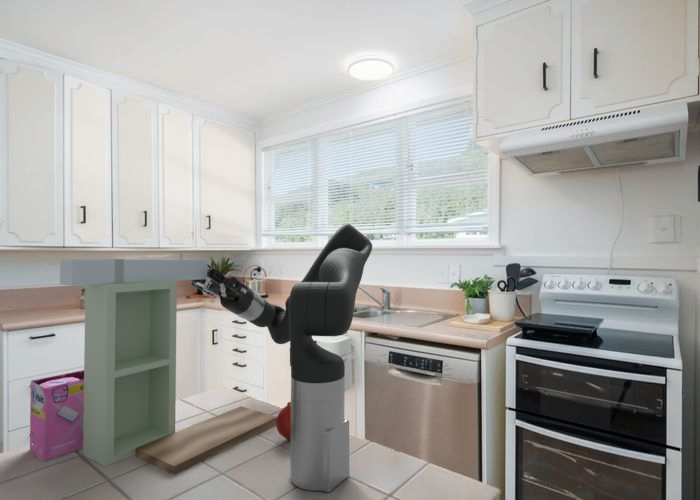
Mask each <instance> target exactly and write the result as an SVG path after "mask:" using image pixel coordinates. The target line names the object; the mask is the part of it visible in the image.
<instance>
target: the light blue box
mask: <svg viewBox="0 0 700 500" xmlns="http://www.w3.org/2000/svg"><path fill="white" fill-rule="evenodd" d="M59 267H60V268H59V269H60V272H59V273H60V274H59V285H60V286H61V285H64V286H85V285H92V284H120V283H136V282H157V281H177V282H178V281H179V282H180V281H191V280H200V279H207V274H208V259H165V258H163V259H160V258H159V259H157V258H156V259H151V258H150V259H147V258H146V259H134V258H133V259H129V258H128V259H125V258H118V259H117V258H101V259H99V258H95V259H91V258H87V259H85V258H84V259H83V258H82V259H81V258H80V259H79V258H78V259H77V258H75V259H74V258H72V259H71V258H67V259H66V258H61V259H60V266H59Z"/></svg>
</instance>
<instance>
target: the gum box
mask: <svg viewBox="0 0 700 500" xmlns="http://www.w3.org/2000/svg"><path fill="white" fill-rule="evenodd" d="M29 406H30V413H29V414H30V415H29V416H30V417H29V419H30V420H29V421H30V422H29V426H30V427H29V429H30V430H29V451H30V452H32V453H33V454H34V455H35V456H36V457H38V458H40V459H41V460H43V461H48V460H51V459H54V458H57V457H60V456H64V455H66V454H69V453H73V452H76V451H77V450H81V449H83V419H84V369H83V370H78V371H73V372H68V373H63V374H58V375H53V376H49V377H43V378H39V379H34V380H33V379H32V380H31V381H30V405H29ZM32 444H33V445H32Z"/></svg>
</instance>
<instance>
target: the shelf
mask: <svg viewBox="0 0 700 500" xmlns="http://www.w3.org/2000/svg"><path fill="white" fill-rule="evenodd" d="M84 286H85V289H84V290H85V293H84V353H83V354H84V357H83V358H84V359H83V360H84V365H83V366H84V367H83V368H84V369H83V370H84V419H83V448H82V455H83V456H85V457H87V458H89V459H90V460H91V461H93V462H94V461H95V462H96V463H98V464H99V465H102V467H107V466H109V465H113V464H114V463H117V462H119V461H122V460H124V459H126V458H129V457H131V456H135V449H136V448H138V447H140V446H143V445H145V444H148V443H150V442H153V441H155V440H158V439H160V438H163V437H165V436H168V435H170V434H173V433H175V432H176V406H177V405H176V396H177V395H176V394H177V393H176V390H177V386H176V385H177V383H176V382H177V307H178V306H177V304H178V303H177V301H178V300H177V299H178V297H177V296H178V281H157V282H136V283H120V284H92V285H84Z"/></svg>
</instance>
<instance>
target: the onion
mask: <svg viewBox="0 0 700 500" xmlns="http://www.w3.org/2000/svg"><path fill="white" fill-rule="evenodd" d="M275 426H276V431H277V432H278V433H279V434H280V435H281V436H282V437H283V438H284V439H285V440H287V441H288V442H291V401H288V402H287V403H286V406H284V407H283V408H282V409H281V410H280V411H279V413H278V414H277V420H276V425H275Z"/></svg>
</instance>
